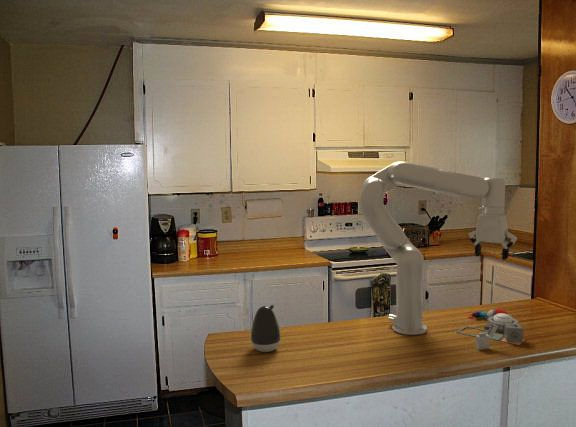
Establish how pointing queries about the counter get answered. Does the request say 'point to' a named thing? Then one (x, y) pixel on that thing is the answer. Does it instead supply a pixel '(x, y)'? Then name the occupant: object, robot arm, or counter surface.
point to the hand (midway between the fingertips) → (491, 257)
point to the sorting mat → (495, 337)
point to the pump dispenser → (265, 330)
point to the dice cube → (513, 332)
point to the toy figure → (487, 313)
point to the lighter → (485, 338)
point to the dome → (502, 318)
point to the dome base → (498, 324)
